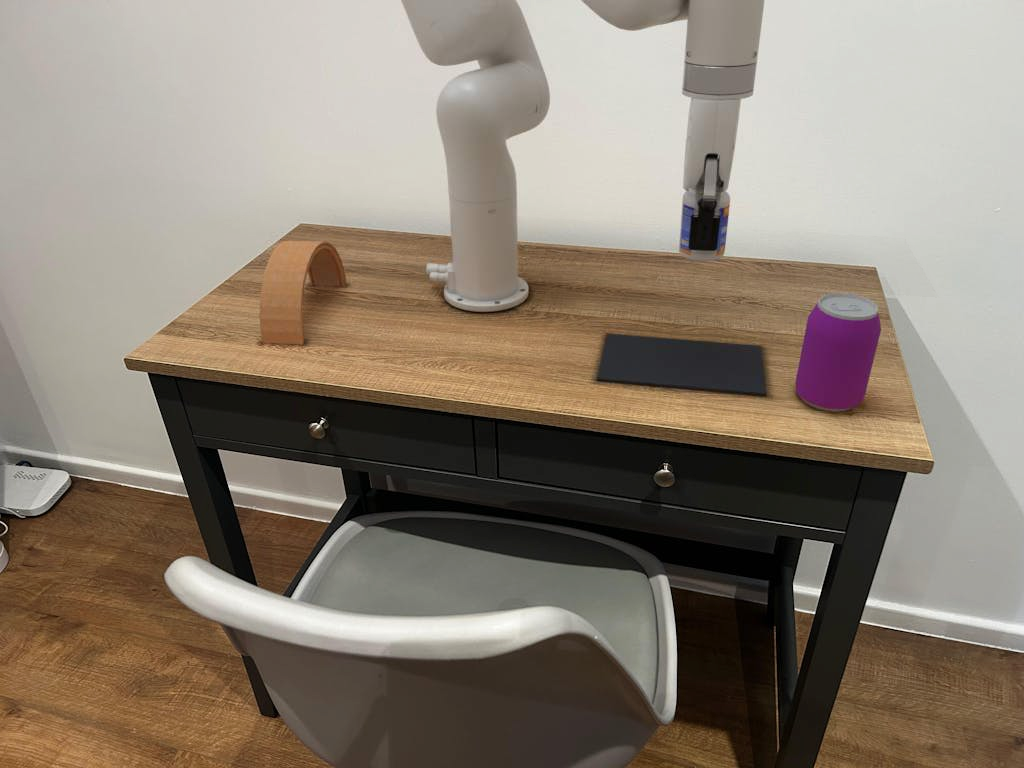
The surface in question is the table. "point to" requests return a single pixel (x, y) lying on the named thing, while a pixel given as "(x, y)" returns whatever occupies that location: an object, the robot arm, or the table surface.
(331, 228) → the table surface
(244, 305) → the table surface
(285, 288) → the arch
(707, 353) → the desk mat
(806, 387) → the beverage can
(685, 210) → the pill bottle
